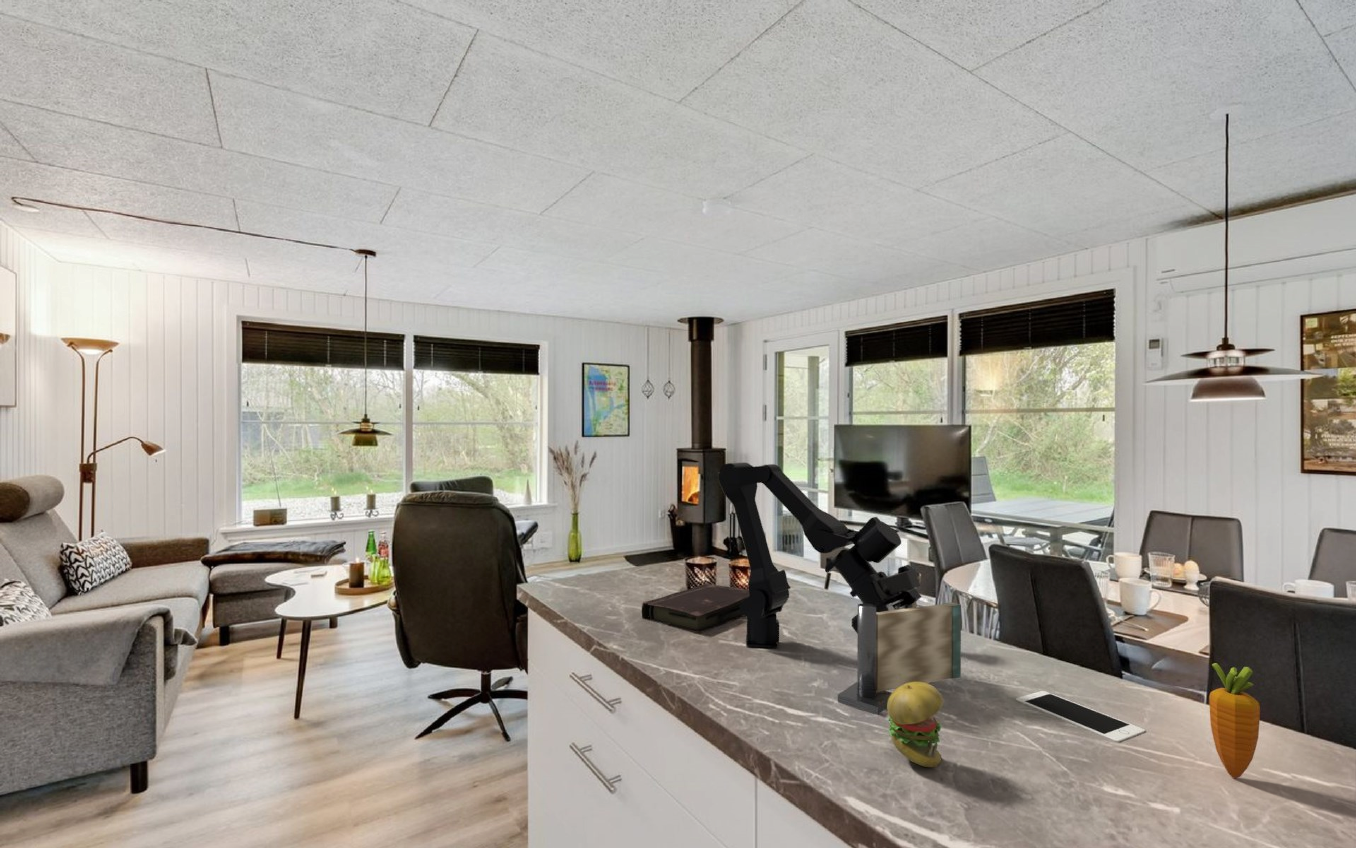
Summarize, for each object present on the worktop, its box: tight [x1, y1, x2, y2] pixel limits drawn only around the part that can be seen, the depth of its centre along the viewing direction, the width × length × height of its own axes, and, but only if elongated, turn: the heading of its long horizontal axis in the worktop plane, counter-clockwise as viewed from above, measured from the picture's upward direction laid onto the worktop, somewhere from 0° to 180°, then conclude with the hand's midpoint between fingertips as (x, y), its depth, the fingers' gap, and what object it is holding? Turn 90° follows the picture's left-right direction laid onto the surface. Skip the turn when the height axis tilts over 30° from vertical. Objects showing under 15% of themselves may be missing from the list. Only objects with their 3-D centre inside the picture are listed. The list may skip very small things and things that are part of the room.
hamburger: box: [886, 673, 944, 768], centre depth 85 cm, size 8×7×12 cm
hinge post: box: [837, 603, 893, 715], centre depth 104 cm, size 7×7×16 cm
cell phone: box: [1015, 690, 1146, 743], centre depth 99 cm, size 8×16×1 cm, turn 27°
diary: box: [641, 583, 750, 634], centre depth 152 cm, size 19×25×5 cm
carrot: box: [1208, 662, 1261, 780], centre depth 81 cm, size 5×5×15 cm
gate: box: [876, 601, 962, 692], centre depth 108 cm, size 18×2×13 cm, turn 112°
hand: (919, 650), depth 109 cm, fingers closed
